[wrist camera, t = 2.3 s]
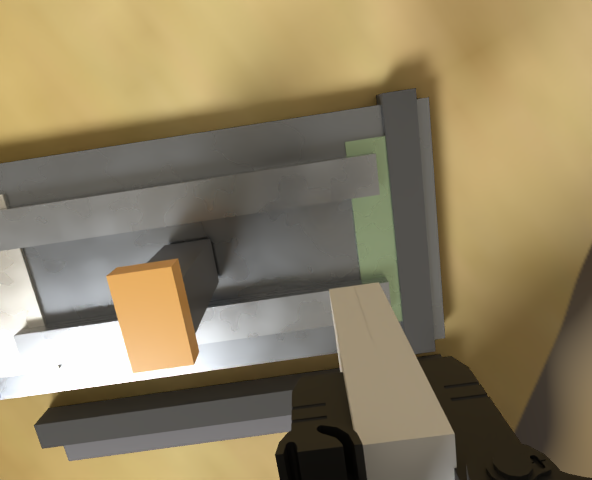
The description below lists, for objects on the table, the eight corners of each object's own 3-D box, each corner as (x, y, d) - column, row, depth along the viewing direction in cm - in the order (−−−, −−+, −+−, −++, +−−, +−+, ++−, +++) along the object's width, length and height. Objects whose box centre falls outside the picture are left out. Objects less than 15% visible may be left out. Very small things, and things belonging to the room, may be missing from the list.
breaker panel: (8, 388, 27) (-17, 411, 25) (-69, 174, 23) (-105, 179, 21) (438, 328, 26) (451, 346, 24) (421, 98, 23) (435, 96, 21)
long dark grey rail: (62, 449, 28) (49, 468, 26) (48, 408, 27) (34, 425, 26) (443, 397, 27) (452, 414, 26) (440, 354, 26) (449, 368, 25)
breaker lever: (177, 301, 24) (132, 373, 17) (161, 230, 23) (106, 276, 16) (221, 295, 24) (194, 364, 17) (207, 223, 23) (171, 266, 16)
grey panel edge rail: (400, 341, 26) (406, 355, 25) (376, 95, 23) (382, 93, 21) (427, 337, 26) (435, 351, 25) (407, 90, 23) (415, 88, 21)
